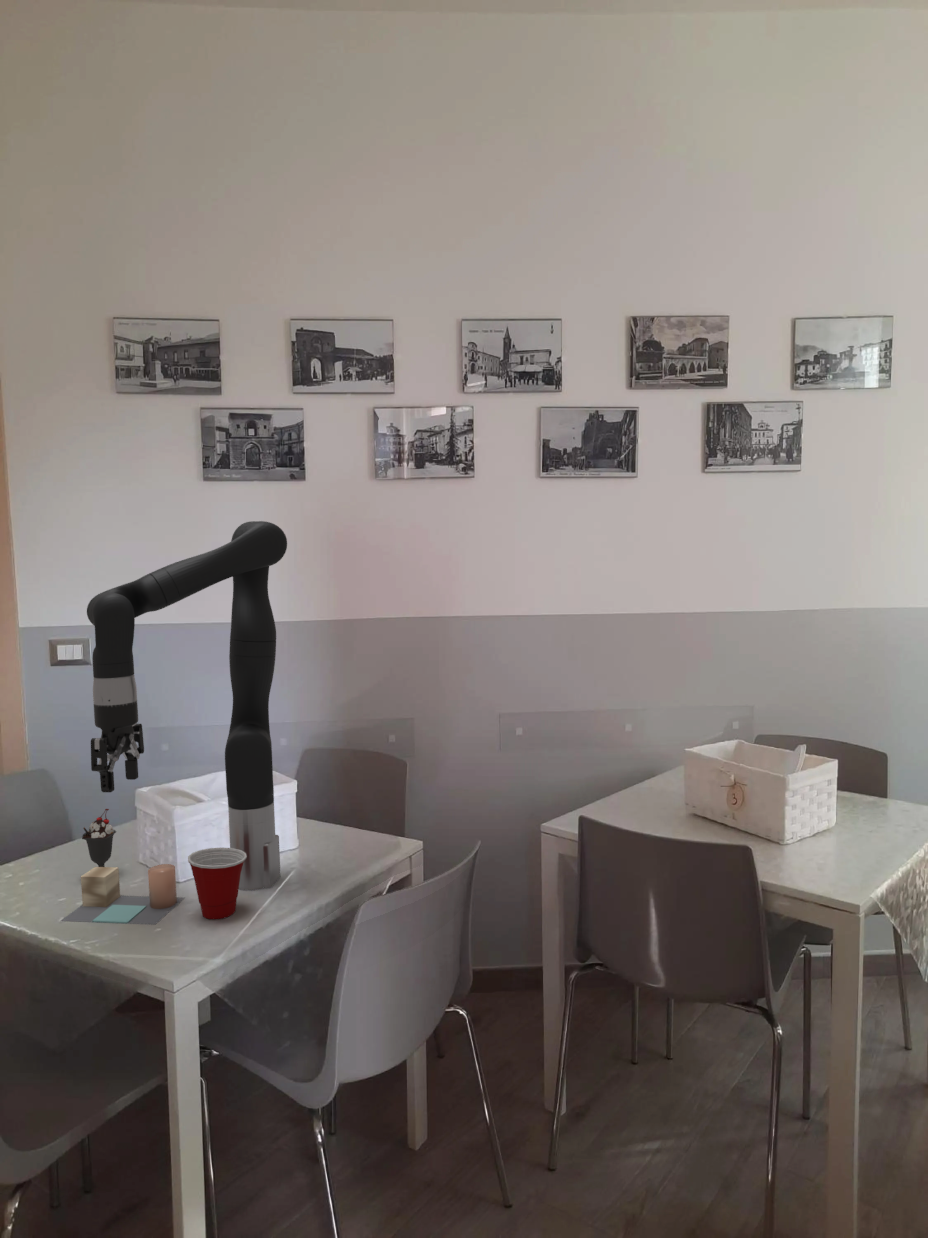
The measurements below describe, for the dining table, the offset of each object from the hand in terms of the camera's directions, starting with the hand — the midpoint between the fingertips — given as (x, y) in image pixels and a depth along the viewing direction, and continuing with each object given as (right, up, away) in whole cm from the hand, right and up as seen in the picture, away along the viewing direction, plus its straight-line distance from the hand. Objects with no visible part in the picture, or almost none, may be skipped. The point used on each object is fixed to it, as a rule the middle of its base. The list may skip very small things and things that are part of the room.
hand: (120, 785), depth 157 cm
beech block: (-8, -25, +9) cm, 28 cm away
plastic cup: (+18, -26, +3) cm, 31 cm away
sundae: (-13, -25, +22) cm, 35 cm away
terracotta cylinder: (+5, -25, +8) cm, 26 cm away
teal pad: (-1, -26, +3) cm, 26 cm away
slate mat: (-1, -26, +5) cm, 26 cm away
